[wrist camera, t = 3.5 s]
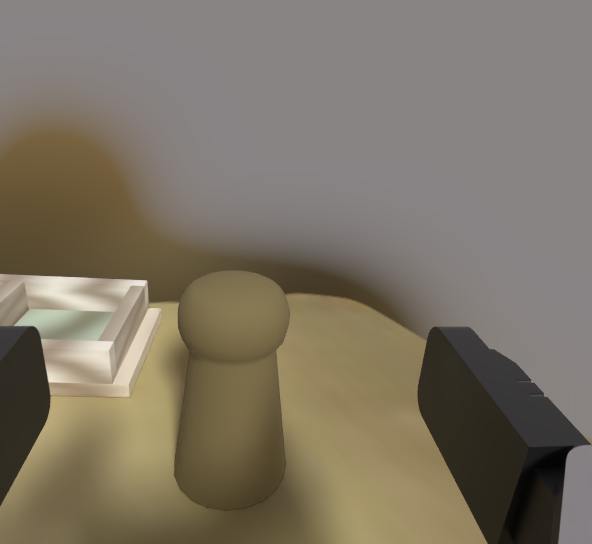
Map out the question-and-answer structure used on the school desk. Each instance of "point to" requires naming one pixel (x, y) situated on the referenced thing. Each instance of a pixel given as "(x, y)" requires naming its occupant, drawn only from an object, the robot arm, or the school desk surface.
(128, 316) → the white divided tray
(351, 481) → the school desk surface
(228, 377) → the cork
